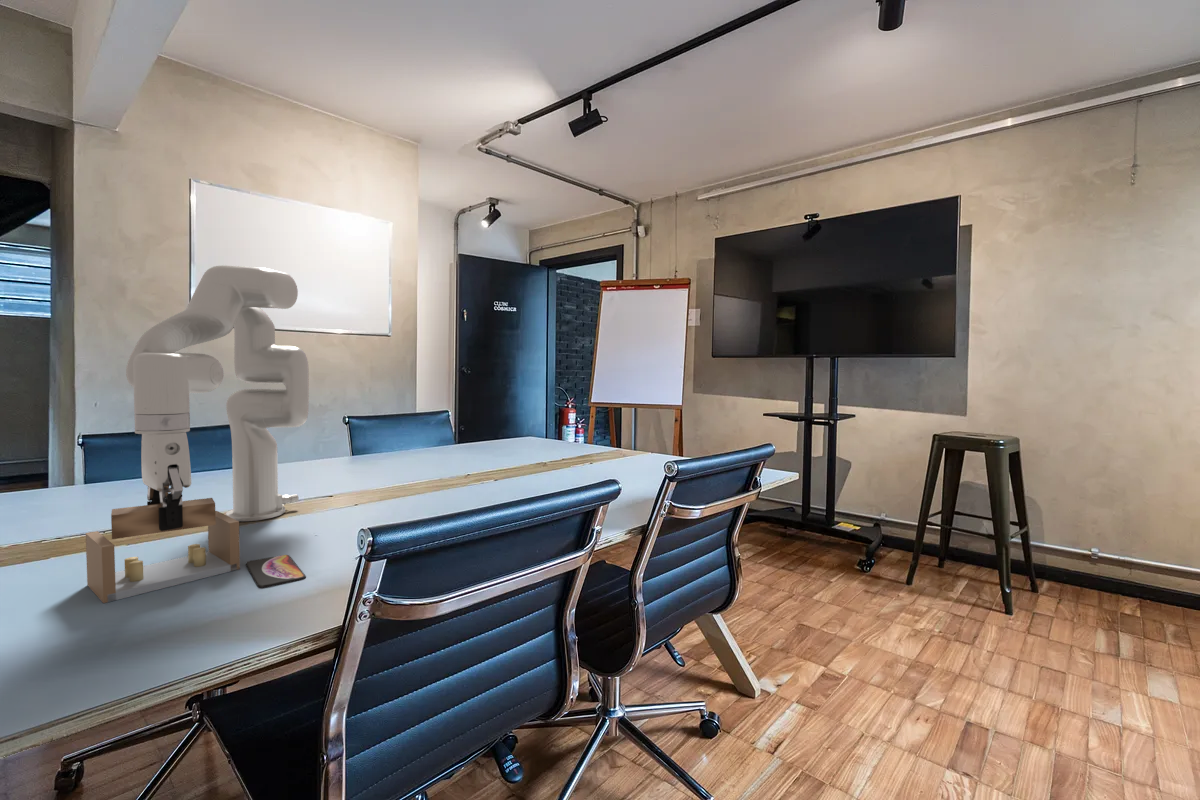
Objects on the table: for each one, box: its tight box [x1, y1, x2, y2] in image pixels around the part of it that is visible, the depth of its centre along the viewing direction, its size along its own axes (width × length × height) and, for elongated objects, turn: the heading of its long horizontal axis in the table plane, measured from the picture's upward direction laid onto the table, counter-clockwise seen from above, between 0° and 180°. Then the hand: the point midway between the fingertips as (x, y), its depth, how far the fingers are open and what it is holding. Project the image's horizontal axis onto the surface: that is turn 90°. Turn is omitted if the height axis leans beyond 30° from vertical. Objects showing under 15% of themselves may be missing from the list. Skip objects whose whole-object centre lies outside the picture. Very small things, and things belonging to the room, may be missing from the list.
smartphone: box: [245, 554, 307, 589], centre depth 100 cm, size 8×1×15 cm
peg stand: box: [85, 510, 241, 604], centre depth 96 cm, size 19×11×9 cm, turn 143°
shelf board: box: [110, 497, 216, 540], centre depth 95 cm, size 14×5×4 cm, turn 131°
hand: (165, 524), depth 95 cm, fingers closed on shelf board, 5 cm apart
